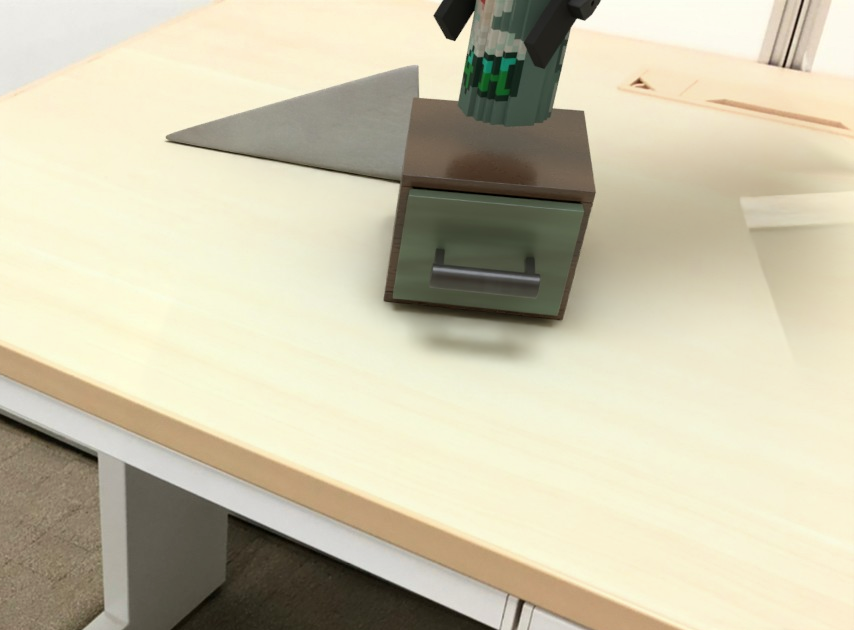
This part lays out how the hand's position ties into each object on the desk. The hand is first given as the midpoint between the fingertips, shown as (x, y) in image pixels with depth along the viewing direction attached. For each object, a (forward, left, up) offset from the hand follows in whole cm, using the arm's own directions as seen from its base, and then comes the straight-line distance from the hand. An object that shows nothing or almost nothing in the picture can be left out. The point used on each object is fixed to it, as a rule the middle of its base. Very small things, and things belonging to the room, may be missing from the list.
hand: (488, 41), depth 82 cm
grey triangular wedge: (+16, -16, -17) cm, 29 cm away
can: (-2, -3, -6) cm, 7 cm away
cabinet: (-2, -3, -17) cm, 18 cm away
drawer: (-2, +1, -16) cm, 17 cm away
